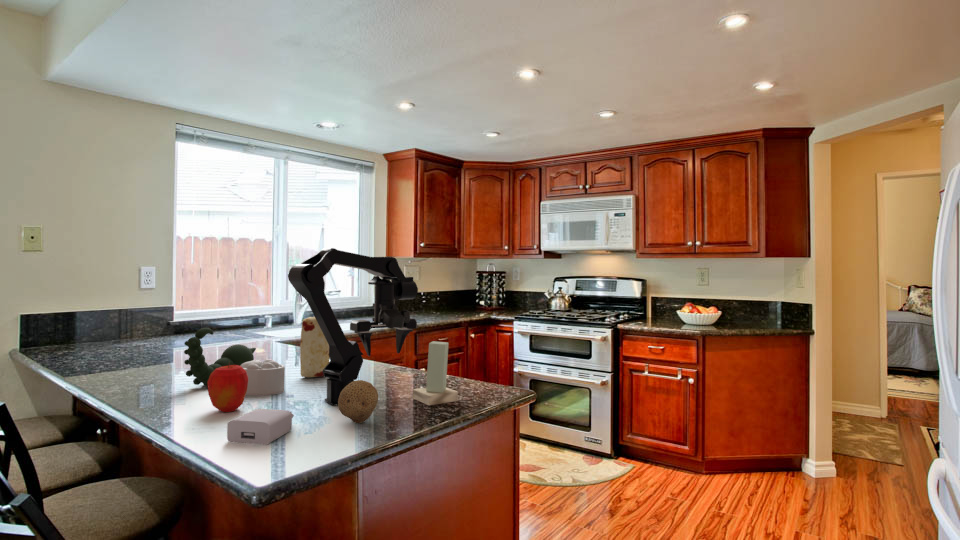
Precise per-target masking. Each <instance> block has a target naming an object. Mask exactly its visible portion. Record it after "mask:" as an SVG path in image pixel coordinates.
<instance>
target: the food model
mask: <svg viewBox="0 0 960 540" xmlns="http://www.w3.org/2000/svg"><path fill="white" fill-rule="evenodd" d="M299 349H300V354H299V356H300V357H299V360H300V361H299V362H300V376H301V377H302V378H319V377H324V374H323V369H324V368H325V367H326V365H327V364H328V363H329V362H330V357H329V344H328V342H327V340H326V338H325V336H324V334H323V332H322V330H321V328H320V326H319V324H318V322H317V320H316V318H315V316H308V317H307V318H303V319H302V322H301V331H300V348H299Z"/></svg>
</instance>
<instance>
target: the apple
mask: <svg viewBox="0 0 960 540" xmlns="http://www.w3.org/2000/svg"><path fill="white" fill-rule="evenodd" d="M229 364H230V362H229ZM207 384H208V386H207V392H208V394H207V395H208V397H209V399H210V401H211V405H212V406H213V407H214V408H216V409H217V410H219V411H220V412H221V413H222V412H223V413H231V412H235V411H237V410H238V409H239V408H240V407H241V406H242V405H243V403H244V400H245V398H246V396H247V395H246V392H247V387H248V375H247V372H246V370H245V369H243V368H242V367H241V366H239V365H228V366H223V367H219V368H216V369H215V370H214V371H213V372H212V373H211V374H210V377H209V380H208V382H207Z"/></svg>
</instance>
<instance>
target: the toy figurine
mask: <svg viewBox="0 0 960 540" xmlns="http://www.w3.org/2000/svg"><path fill="white" fill-rule="evenodd" d="M208 334H210V335H214V331H213V329H211V328H209V327H202V328H200V329H198V330H196V332H195V334H194V336H193V337H190V338H189V339H188V340H186V341H184V343H183V344H184V345H185V346H187V347H188V348H187V349H184V351H183V353H184V355H188V359H185V360H184V362H183V363H184V364H185V365H189V367H190V369H189V370H187V371H186V373H185V375H186V377H188V378H189V377H192V376H193V377H194V378H193V382H192V383H193V384H194V385H195V386H196V385H197V386H199V385H200V384H203V386H205V387H208V384H207V382H208V380H209V377H210V374H211V373H212V372H213V371H214V370H215V369H216V368H219V367H223V366H228V365H239V366H240V365H241V364H243V363H245V362H250V361H252V360H255V357H254V352H255V351H256V349H257V348H256V347H252V348H251V347H250V348H249V347H248V346H246V345H244V344H232V345H230V346H228V347H227V348H226V349H224V351H223V352H222V354H221V355H220V358H218V359H217V360H215V361H214V363H211V364H208V362H206V357H205V355H204V349H203V347H202V346H201V345H202V341H201V340H202V339H203V338H205V337H206V335H208ZM229 362H230V364H229Z"/></svg>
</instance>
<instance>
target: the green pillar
mask: <svg viewBox="0 0 960 540" xmlns="http://www.w3.org/2000/svg"><path fill="white" fill-rule="evenodd" d="M427 353H428V355H427V367H426V368H427V371H426V386H425V388H426V391H429V392H439V393H443V392H444V391H445V389H446V388H447V374H448V358H449V356H448V355H449V342H447V341H446V342H445V341H434V340H433V341H431V342H429V343H428V352H427Z"/></svg>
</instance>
